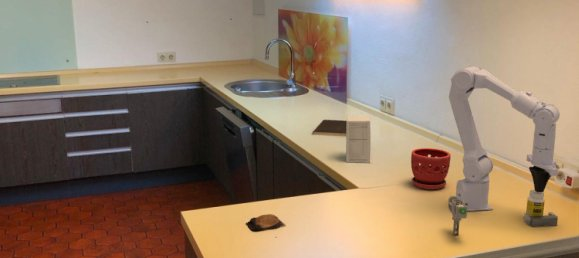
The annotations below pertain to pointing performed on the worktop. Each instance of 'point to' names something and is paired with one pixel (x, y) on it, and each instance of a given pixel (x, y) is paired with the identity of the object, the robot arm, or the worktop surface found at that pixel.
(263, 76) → the worktop surface
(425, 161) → the plant pot
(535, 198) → the supplement bottle
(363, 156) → the beige miniature cabinet
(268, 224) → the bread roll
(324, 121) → the hardcover book
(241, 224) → the worktop surface
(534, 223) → the jig
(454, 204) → the mechanical component
